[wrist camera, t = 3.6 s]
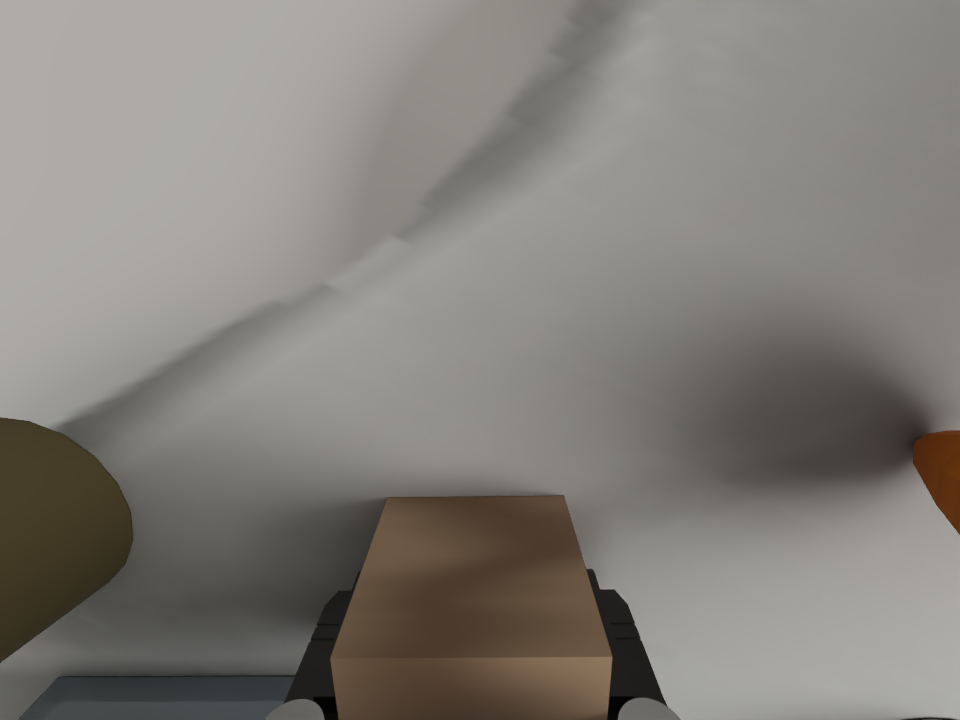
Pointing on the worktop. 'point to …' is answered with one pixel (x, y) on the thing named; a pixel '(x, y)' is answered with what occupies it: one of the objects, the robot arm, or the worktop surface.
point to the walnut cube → (473, 616)
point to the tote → (160, 698)
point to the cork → (53, 529)
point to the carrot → (941, 471)
